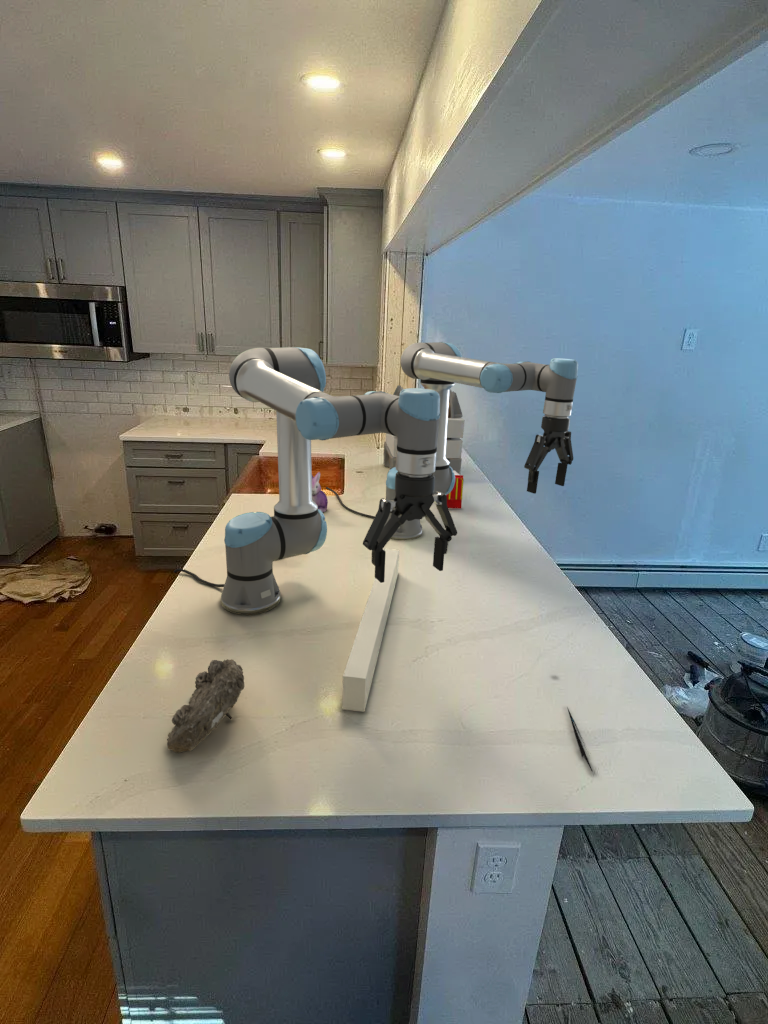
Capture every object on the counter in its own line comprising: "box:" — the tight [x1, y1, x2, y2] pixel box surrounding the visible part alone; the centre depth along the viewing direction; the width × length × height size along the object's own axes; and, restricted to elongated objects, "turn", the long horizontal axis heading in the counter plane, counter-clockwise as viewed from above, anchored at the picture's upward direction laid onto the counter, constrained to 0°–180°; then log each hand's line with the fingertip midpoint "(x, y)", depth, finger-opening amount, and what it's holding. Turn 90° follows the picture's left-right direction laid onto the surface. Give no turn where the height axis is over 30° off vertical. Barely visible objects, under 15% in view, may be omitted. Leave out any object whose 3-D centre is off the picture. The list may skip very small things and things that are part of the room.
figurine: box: [312, 471, 329, 514], centre depth 216 cm, size 9×10×15 cm
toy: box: [446, 471, 465, 510], centre depth 239 cm, size 12×13×30 cm
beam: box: [341, 548, 400, 713], centre depth 140 cm, size 63×4×8 cm, turn 173°
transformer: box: [383, 384, 465, 475], centre depth 268 cm, size 34×33×41 cm
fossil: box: [166, 658, 245, 754], centre depth 106 cm, size 22×10×15 cm
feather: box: [554, 675, 593, 772], centre depth 111 cm, size 2×28×2 cm
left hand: (409, 573), depth 115 cm, fingers open, 13 cm apart
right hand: (545, 488), depth 165 cm, fingers open, 13 cm apart
